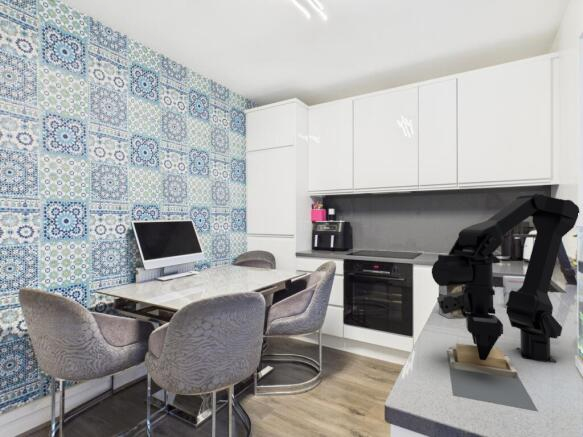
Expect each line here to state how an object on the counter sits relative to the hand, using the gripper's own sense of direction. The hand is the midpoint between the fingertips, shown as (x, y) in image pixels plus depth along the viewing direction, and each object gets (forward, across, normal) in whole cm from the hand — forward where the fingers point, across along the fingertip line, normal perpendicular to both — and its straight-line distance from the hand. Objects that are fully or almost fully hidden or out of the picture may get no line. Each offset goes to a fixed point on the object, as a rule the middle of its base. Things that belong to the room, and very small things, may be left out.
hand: (479, 351), depth 71 cm
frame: (+3, 0, 0) cm, 3 cm away
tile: (+3, 0, 0) cm, 3 cm away
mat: (+3, +6, 0) cm, 6 cm away
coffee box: (+4, -40, -2) cm, 41 cm away
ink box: (+4, -59, +20) cm, 62 cm away
